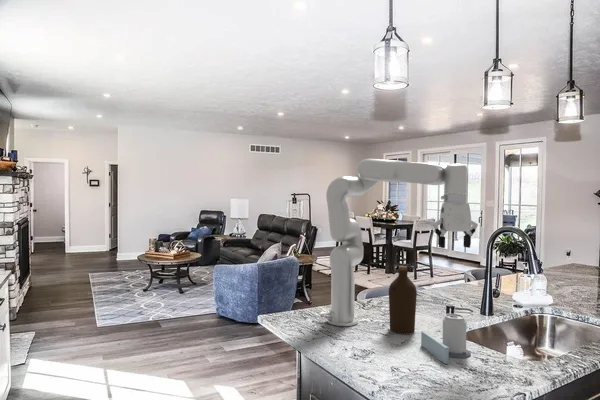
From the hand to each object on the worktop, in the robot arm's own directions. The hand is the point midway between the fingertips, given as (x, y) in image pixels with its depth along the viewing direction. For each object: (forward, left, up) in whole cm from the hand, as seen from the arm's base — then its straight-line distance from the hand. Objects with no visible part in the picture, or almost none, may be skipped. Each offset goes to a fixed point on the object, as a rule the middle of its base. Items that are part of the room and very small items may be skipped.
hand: (454, 247), depth 149 cm
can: (-4, -8, -34) cm, 35 cm away
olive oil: (-12, +16, -34) cm, 40 cm away
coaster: (-4, -8, -34) cm, 35 cm away
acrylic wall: (-12, -8, -34) cm, 37 cm away
